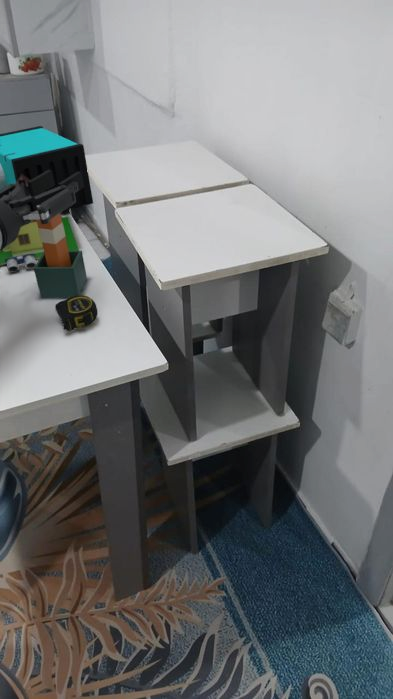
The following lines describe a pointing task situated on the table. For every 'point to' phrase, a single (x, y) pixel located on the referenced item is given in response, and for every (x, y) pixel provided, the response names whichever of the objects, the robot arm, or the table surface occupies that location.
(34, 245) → the house model
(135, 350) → the table surface
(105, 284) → the table surface
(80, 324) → the tape measure
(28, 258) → the ultrasonic sensor
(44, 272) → the open box
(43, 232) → the block
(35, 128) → the electronic device
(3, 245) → the robot arm
